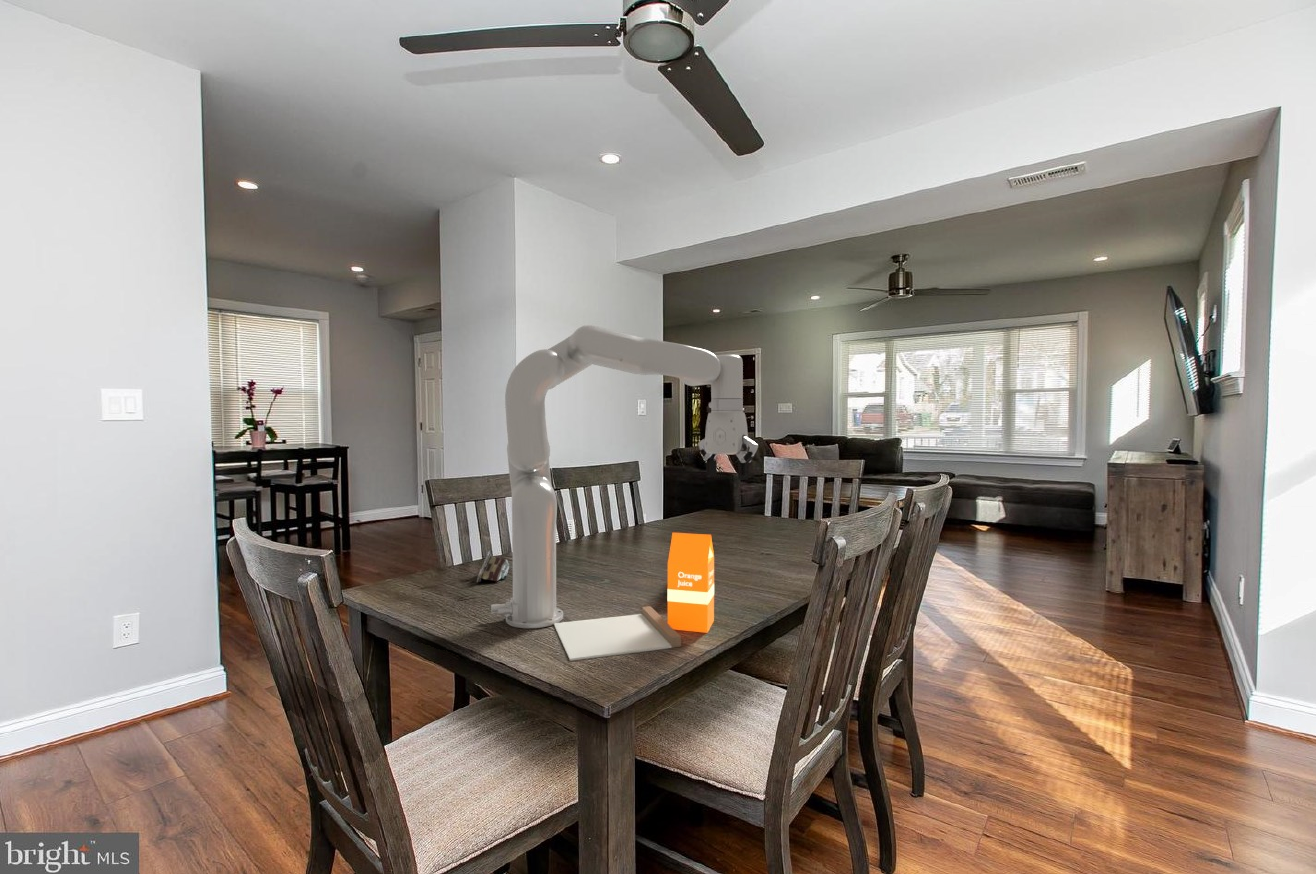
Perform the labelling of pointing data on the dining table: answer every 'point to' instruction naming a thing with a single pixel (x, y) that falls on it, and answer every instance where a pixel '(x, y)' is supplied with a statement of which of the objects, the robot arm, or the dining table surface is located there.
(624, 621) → the mat
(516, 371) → the robot arm
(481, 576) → the chocolate cake
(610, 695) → the dining table surface
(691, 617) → the orange juice
